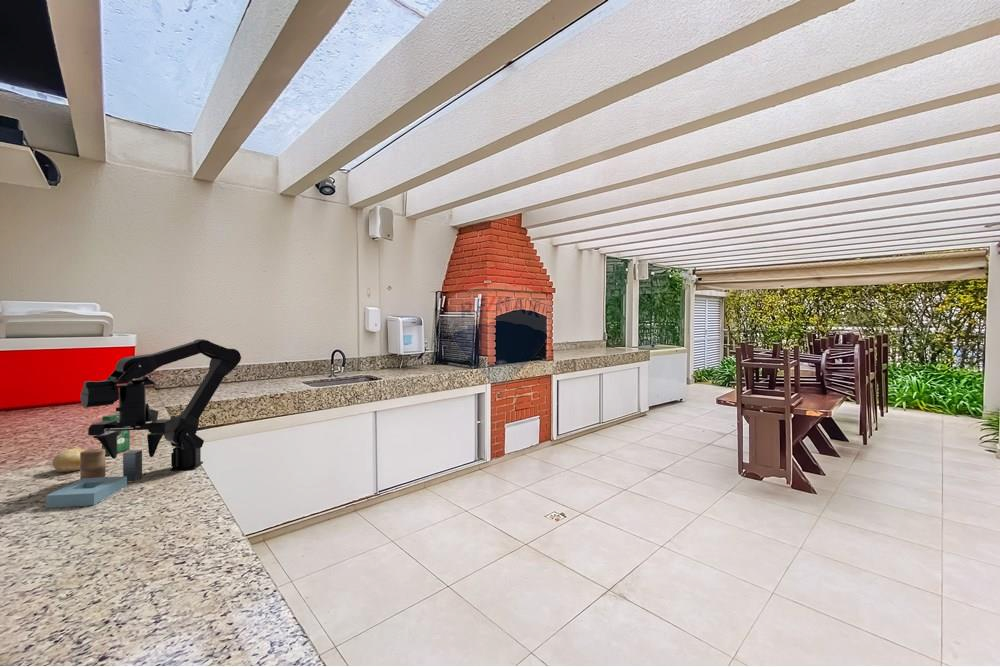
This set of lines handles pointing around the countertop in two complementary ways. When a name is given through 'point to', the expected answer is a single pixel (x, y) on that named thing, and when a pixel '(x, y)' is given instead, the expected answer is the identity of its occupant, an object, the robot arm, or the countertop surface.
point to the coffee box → (119, 435)
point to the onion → (68, 460)
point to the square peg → (132, 465)
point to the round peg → (92, 464)
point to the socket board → (85, 492)
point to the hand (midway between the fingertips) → (133, 457)
